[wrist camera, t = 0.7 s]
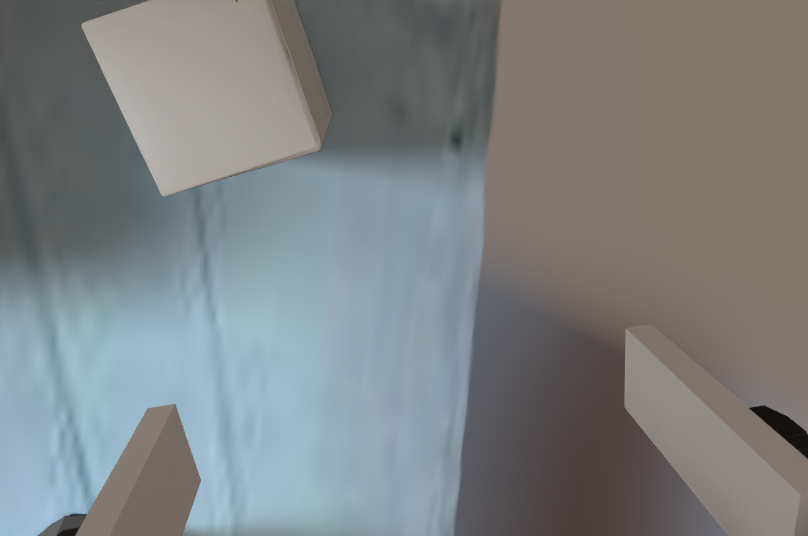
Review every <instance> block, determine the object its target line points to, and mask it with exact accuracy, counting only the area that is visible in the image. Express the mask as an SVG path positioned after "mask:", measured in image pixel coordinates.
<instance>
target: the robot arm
mask: <svg viewBox="0 0 808 536" xmlns="http://www.w3.org/2000/svg"><path fill="white" fill-rule="evenodd" d="M625 354H626V356H625V408H626V409H627V411H628V412H629V413H630V414H631V416H632V417H633V418H634V419H635V420H636V422H637V423H638V424H639V425H640V427H641V428H642V429H643V430H644V432H645V433H646V434H647V435H648V437H649V438H650V439H651V440H652V442H653V443H654V444H655V445H656V446H657V448H658V449H659V450H660V451H661V453H662V454H663V455H664V456H665V458H666V459H667V460H668V461H669V463H670V464H671V465H672V466H673V468H674V469H675V470H676V471H677V472H678V474H679V475H680V476H681V477H682V479H683V480H684V481H685V482H686V484H687V485H688V486H689V487H690V489H691V490H692V491H693V492H694V494H695V495H696V496H697V497H698V498H699V500H700V501H701V502H702V503H703V505H704V506H705V507H706V508H707V510H708V511H709V512H710V513H711V515H712V516H713V517H714V518H715V519H716V521H717V522H718V523H719V525H720V526H721V527H722V528H723V530H724V531H725V532H726V533H727V534H728V536H808V434H807V433H806V431H805V430H804V429H803V428H801V427H800V426H799V425H797V424H796V423H795V422H794V421H793V420H791V419H790V418H789V417H787V416H785V415H783V414H781V413H779V412H777V411H775V410H773V409H770V408H768V407H766V406H758V407H753V408H748V407H747V406H745V405H744V404H743V403H742V402H741V401H740V400H738V399H737V398H736V397H735V396H734V395H733V394H732V393H730V392H729V391H728V390H727V389H726V388H724V387H723V386H722V385H721V384H720V383H719V382H718V381H716V380H715V379H714V378H713V377H712V376H711V375H710V374H708V373H707V372H706V371H705V370H704V369H702V368H701V367H700V366H699V365H698V364H697V363H695V362H694V361H693V360H692V359H691V358H690V357H689V356H687V355H686V354H685V353H684V352H683V351H682V350H680V349H679V348H678V347H677V346H675V345H674V344H673V343H672V342H671V341H670V340H669V339H668V338H666V337H665V336H664V335H663V334H662V333H660V331H658V330H657V329H656V328H655V327H654V326H652V325H651V324H650V325H644V326H638V327H633V328H626V353H625ZM200 482H201V479H200V476H199V473H198V470H197V467H196V464H195V461H194V458H193V455H192V452H191V449H190V447H189V444H188V441H187V438H186V435H185V432H184V429H183V426H182V423H181V420H180V417H179V414H178V411H177V408H176V405H175V404H172V405H166V406H160V407H154V408H148V409H147V411H146V413H145V414H144V416H143V418H142V420H141V421H140V423H139V425H138V427H137V428H136V430H135V432H134V434H133V435H132V437H131V439H130V441H129V442H128V444H127V446H126V448H125V449H124V451H123V453H122V455H121V456H120V458H119V460H118V462H117V463H116V465H115V467H114V469H113V470H112V472H111V474H110V476H109V477H108V479H107V481H106V483H105V484H104V486H103V488H102V490H101V491H100V493H99V495H98V497H97V498H96V500H95V502H94V504H93V505H92V507H91V509H90V511H89V513H88V514H87V516H86V518H85V520H84V521H83V523H82V525H81V527H78V528H73V529H67V530H62V531H61V532H60V533H59V534H58V535H57V536H182V534H183V531H184V528H185V525H186V522H187V520H188V517H189V514H190V511H191V508H192V505H193V502H194V499H195V496H196V493H197V491H198V488H199V485H200Z"/></svg>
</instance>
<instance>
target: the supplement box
mask: <svg viewBox="0 0 808 536" xmlns="http://www.w3.org/2000/svg"><path fill="white" fill-rule="evenodd" d="M81 26H82V29H83V31H84V33H85V35H86V37H87V40H88V42H89V44H90V46H91V48H92V50H93V52H94V54H95V56H96V59H97V61H98V63H99V65H100V67H101V69H102V72H103V74H104V76H105V78H106V80H107V82H108V84H109V86H110V88H111V90H112V93H113V95H114V97H115V99H116V101H117V103H118V105H119V107H120V109H121V111H122V114H123V116H124V118H125V120H126V122H127V124H128V126H129V128H130V130H131V132H132V135H133V137H134V139H135V141H136V143H137V145H138V147H139V149H140V151H141V153H142V155H143V157H144V159H145V161H146V163H147V166H148V168H149V170H150V172H151V174H152V176H153V178H154V180H155V182H156V184H157V186H158V189H159V191H160V193H161V195H162V196H164V197H165V196H168V195H170V194H174V193H177V192H180V191H184V190H187V189H191V188H194V187H197V186H201V185H204V184H207V183H211V182H214V181H218V180H221V179H225V178H228V177H232V176H235V175H239V174H242V173H246V172H249V171H253V170H256V169H260V168H263V167H267V166H270V165H274V164H277V163H280V162H284V161H287V160H291V159H294V158H297V157H301V156H304V155H308V154H311V153H315V152H318V151H320V150H321V148H322V145H323V142H324V139H325V136H326V133H327V130H328V127H329V124H330V121H331V118H332V113H331V109H330V106H329V103H328V99H327V96H326V93H325V90H324V87H323V84H322V80H321V77H320V74H319V71H318V68H317V65H316V62H315V59H314V56H313V53H312V50H311V47H310V44H309V42H308V39H307V36H306V33H305V30H304V27H303V25H302V22H301V19H300V16H299V13H298V11H297V8H296V5H295V2H294V0H148V1H146V2H143V3H140V4H137V5H134V6H131V7H129V8H126V9H122V10H119V11H116V12H113V13H110V14H107V15H104V16H101V17H98V18H95V19H92V20H89V21H86V22H84V23H82V25H81Z"/></svg>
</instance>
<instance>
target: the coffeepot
mask: <svg viewBox="0 0 808 536" xmlns="http://www.w3.org/2000/svg"><path fill="white" fill-rule="evenodd" d="M86 516H87V515H75V516H65V517H63V518H62V519H60V520H58V521H57V522H55V523H53V524H51V525H50V526H49V527H48V528H47V529H45V530H44V531H43V532H42V533H41V534H39V535H38V536H57V535H58V534H59V533H60V532H61V531H62V530H67V529H73V528H78V527H81V525H82V523H83V521H84V520H85V518H86Z"/></svg>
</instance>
